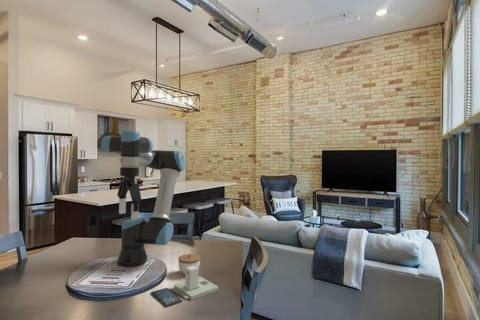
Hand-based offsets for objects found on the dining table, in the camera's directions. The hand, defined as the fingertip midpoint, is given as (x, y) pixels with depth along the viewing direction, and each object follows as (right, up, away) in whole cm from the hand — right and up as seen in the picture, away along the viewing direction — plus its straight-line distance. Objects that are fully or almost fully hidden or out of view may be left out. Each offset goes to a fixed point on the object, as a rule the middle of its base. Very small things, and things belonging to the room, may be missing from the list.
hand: (128, 216), depth 126 cm
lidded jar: (+23, -33, +21) cm, 44 cm away
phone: (+18, -33, -5) cm, 38 cm away
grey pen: (+22, -33, -2) cm, 39 cm away
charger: (+27, -33, +1) cm, 42 cm away
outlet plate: (+29, -33, +3) cm, 44 cm away
